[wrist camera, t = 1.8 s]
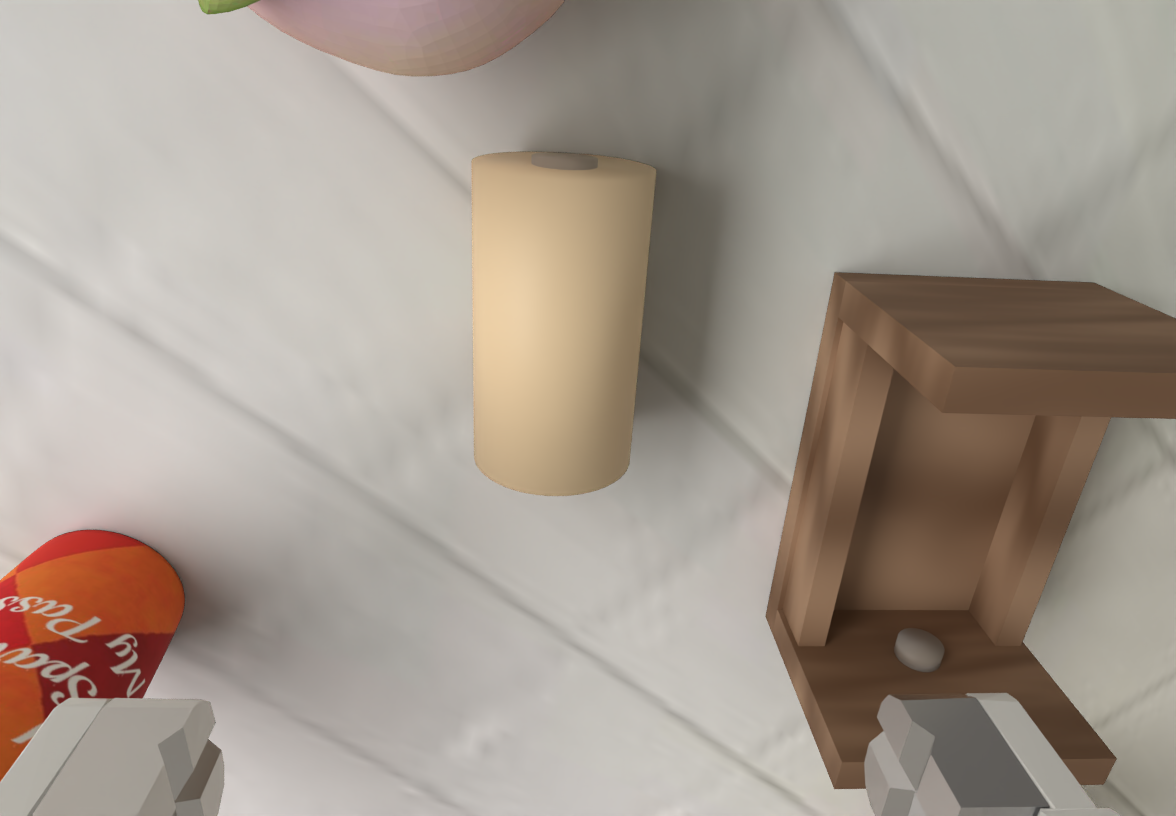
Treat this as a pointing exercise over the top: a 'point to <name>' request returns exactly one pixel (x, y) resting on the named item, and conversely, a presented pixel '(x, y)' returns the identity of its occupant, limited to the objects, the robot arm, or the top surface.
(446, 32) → the decorative fruit
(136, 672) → the paper cup
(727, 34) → the top surface
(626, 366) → the roll
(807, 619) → the holder
